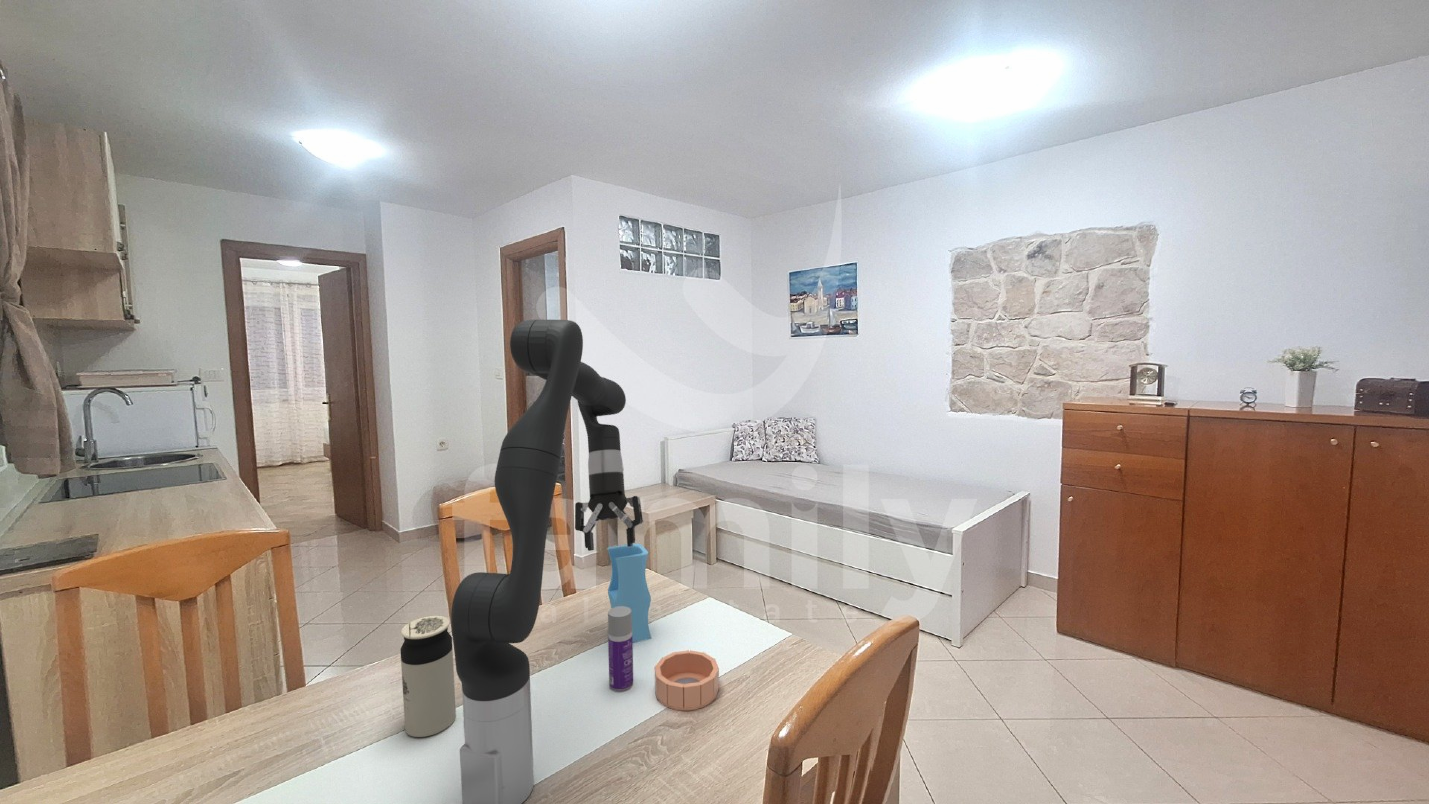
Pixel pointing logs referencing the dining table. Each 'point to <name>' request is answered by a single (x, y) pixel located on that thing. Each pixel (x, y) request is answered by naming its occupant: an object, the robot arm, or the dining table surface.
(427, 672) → the travel mug
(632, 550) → the vase
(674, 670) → the faceted terracotta pot
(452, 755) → the dining table surface
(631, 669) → the container
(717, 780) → the dining table surface
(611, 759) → the dining table surface
